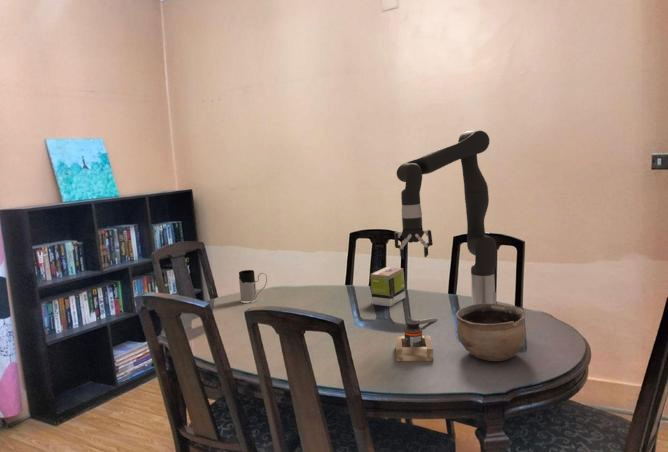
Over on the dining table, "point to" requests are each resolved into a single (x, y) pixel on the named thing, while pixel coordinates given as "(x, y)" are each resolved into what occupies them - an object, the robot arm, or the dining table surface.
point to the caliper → (424, 320)
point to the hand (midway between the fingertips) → (414, 257)
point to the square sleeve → (414, 350)
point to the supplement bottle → (413, 334)
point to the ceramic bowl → (491, 330)
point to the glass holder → (248, 285)
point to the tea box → (387, 286)
